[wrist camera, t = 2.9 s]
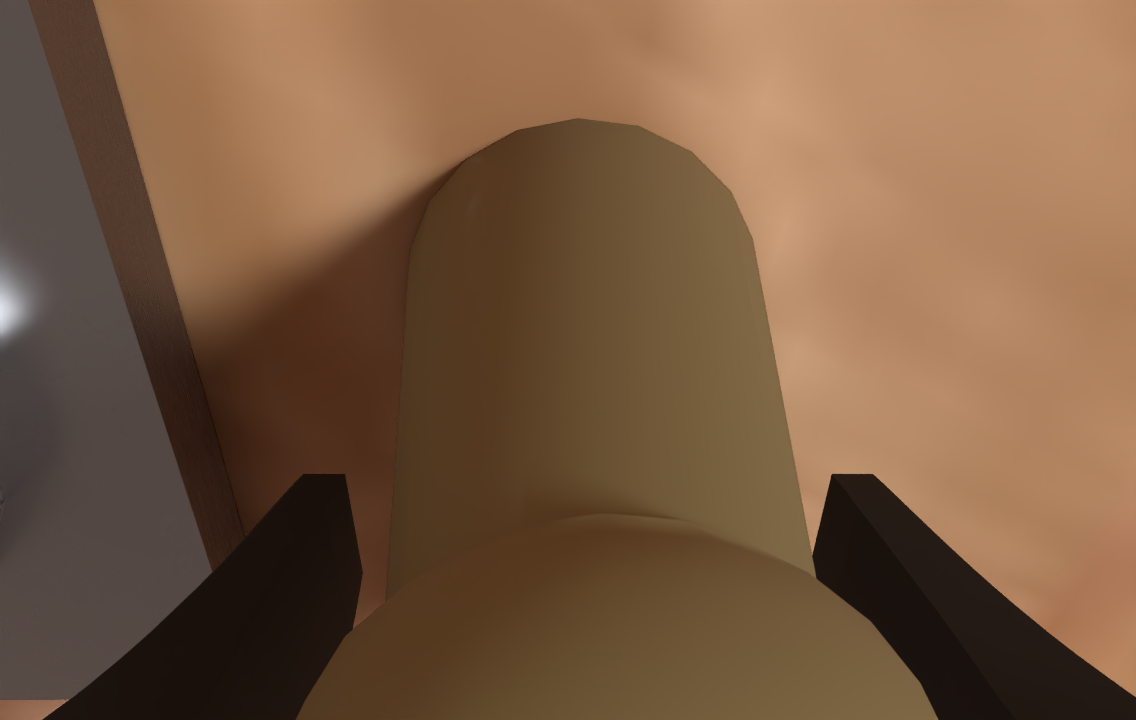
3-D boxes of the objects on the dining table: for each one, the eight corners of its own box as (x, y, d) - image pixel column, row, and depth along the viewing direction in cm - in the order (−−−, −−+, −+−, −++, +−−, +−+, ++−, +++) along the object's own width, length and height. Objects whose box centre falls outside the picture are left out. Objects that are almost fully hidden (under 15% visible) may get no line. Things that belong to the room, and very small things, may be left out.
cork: (380, 393, 15) (79, 1287, 6) (446, 69, 12) (25, 834, 2) (683, 462, 16) (866, 1324, 6) (816, 178, 13) (1528, 1033, 3)
